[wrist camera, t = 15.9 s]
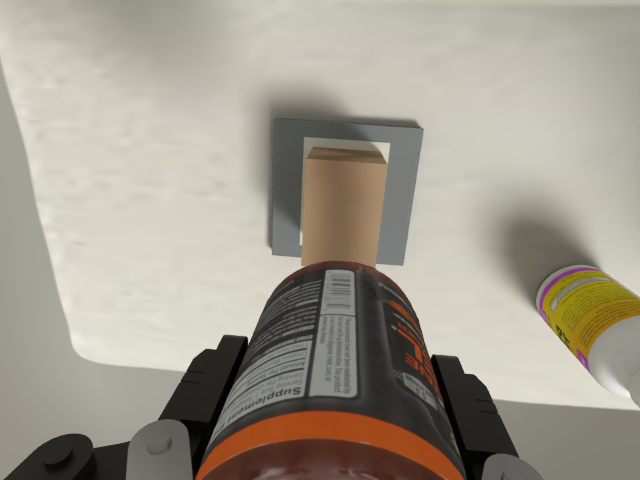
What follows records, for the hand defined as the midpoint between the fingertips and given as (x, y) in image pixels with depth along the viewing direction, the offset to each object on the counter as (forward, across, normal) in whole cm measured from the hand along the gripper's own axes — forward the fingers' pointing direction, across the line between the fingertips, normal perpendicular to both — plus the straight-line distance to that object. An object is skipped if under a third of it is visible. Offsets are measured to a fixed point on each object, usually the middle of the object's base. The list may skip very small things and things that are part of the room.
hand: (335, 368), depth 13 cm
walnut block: (+22, 0, 0) cm, 22 cm away
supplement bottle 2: (+23, -22, +8) cm, 33 cm away
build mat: (+23, 0, 0) cm, 23 cm away
